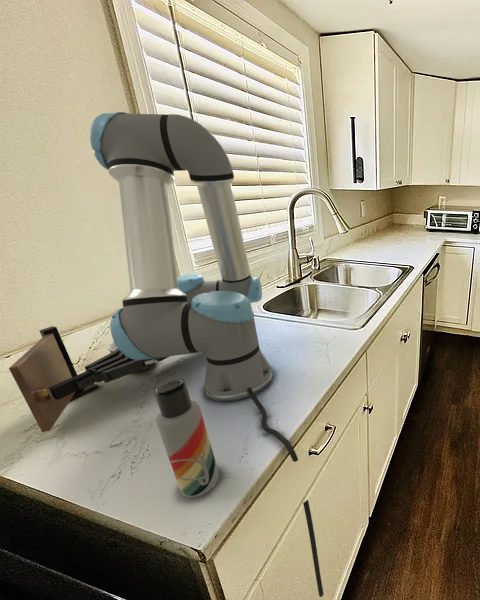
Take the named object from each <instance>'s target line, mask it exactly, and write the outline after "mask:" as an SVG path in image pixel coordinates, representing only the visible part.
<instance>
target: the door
mask: <svg viewBox="0 0 480 600" xmlns="http://www.w3.org/2000/svg"><path fill="white" fill-rule="evenodd" d="M8 370H9V372H10V373H11V376H12V378H13V379H14V381H15V383H16V385H17V387H18V389H19V391H20V393H21V395H22V397H23V398H24V401H25V403H26V404H27V406H28V408H29V410H30V412H31V414H32V416H33V419H35V421H36V423H37V425H38V427H39V429H40V431H41V433H45V432H50V431H51V430H52V428H53V427H54V425H55V424H56V422H57V421H58V419H59V418H60V416H61V415H62V413H63V412H64V410H65V409H66V407H67V406H68V404H69V403H70V402H71V401H72V400H71V398H72V397H73V395H74V394H75V392H74V393H72V394H70V395H68V396H65V397H63V398H61V399H59V400H56V399H54V398H53V396H52V394H51V391H50V389H49V387H51V386H53V385H56V384H58V383H60V382H63V381H65V380H67V379H70V378H72V376H71V373H70V371H69V369H68V367H67V364H66V362H65V360H64V358H63V355H62V353H61V351H60V349H59V346H58V344H57V342H56V340H55V337H54V335H53V334H46V335H45V336H44V337H43V338H42V337H41V338H40V339H39V340H38V341H37V342H36V343H35V344H34V345H33V346H31V347H30V348H29V349H28V350H27V351H26V352H25V353H23V355H21V357H19V358H18V359H17V360H16V361H15V362H14V363H13V364H12V365H10V366H9V367H8ZM70 400H71V401H70Z"/></svg>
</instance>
